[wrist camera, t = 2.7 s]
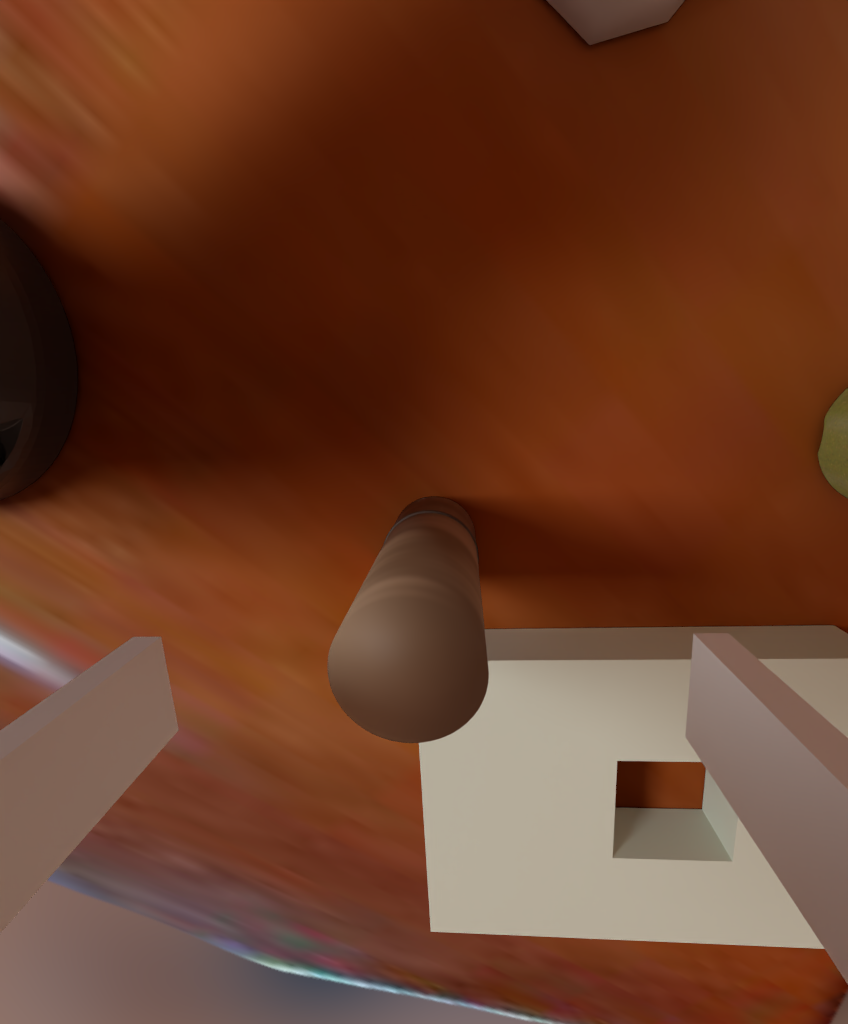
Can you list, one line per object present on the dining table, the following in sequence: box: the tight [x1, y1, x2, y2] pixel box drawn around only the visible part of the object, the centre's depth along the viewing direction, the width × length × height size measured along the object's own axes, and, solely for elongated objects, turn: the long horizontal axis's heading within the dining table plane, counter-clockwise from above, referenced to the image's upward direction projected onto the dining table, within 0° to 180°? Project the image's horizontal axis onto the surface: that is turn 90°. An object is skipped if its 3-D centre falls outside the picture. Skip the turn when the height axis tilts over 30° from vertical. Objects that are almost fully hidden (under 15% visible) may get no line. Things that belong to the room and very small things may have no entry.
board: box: [419, 625, 848, 949], centre depth 24 cm, size 20×16×3 cm
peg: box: [328, 496, 489, 743], centre depth 18 cm, size 4×4×12 cm
